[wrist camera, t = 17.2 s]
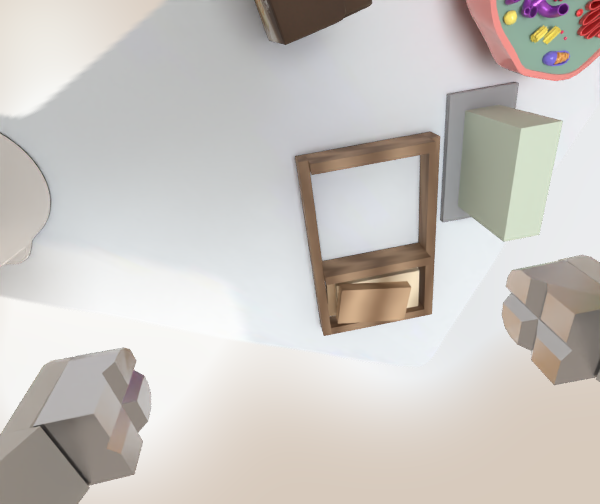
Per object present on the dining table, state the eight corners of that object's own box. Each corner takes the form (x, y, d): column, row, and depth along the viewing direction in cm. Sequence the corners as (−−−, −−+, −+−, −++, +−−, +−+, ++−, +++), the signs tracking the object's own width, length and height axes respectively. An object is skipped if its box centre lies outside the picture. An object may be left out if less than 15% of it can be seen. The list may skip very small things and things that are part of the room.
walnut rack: (320, 324, 57) (325, 343, 53) (295, 156, 44) (299, 166, 40) (424, 303, 58) (436, 320, 54) (430, 131, 44) (446, 139, 41)
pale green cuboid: (457, 206, 49) (503, 241, 40) (465, 110, 43) (521, 128, 34) (487, 200, 49) (539, 234, 40) (498, 104, 43) (562, 120, 34)
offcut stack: (326, 309, 56) (332, 330, 52) (324, 270, 53) (331, 288, 49) (409, 298, 57) (421, 317, 53) (413, 259, 54) (427, 276, 50)
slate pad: (440, 219, 50) (443, 222, 50) (446, 94, 42) (450, 94, 42) (497, 209, 51) (500, 211, 50) (514, 82, 43) (518, 82, 42)
